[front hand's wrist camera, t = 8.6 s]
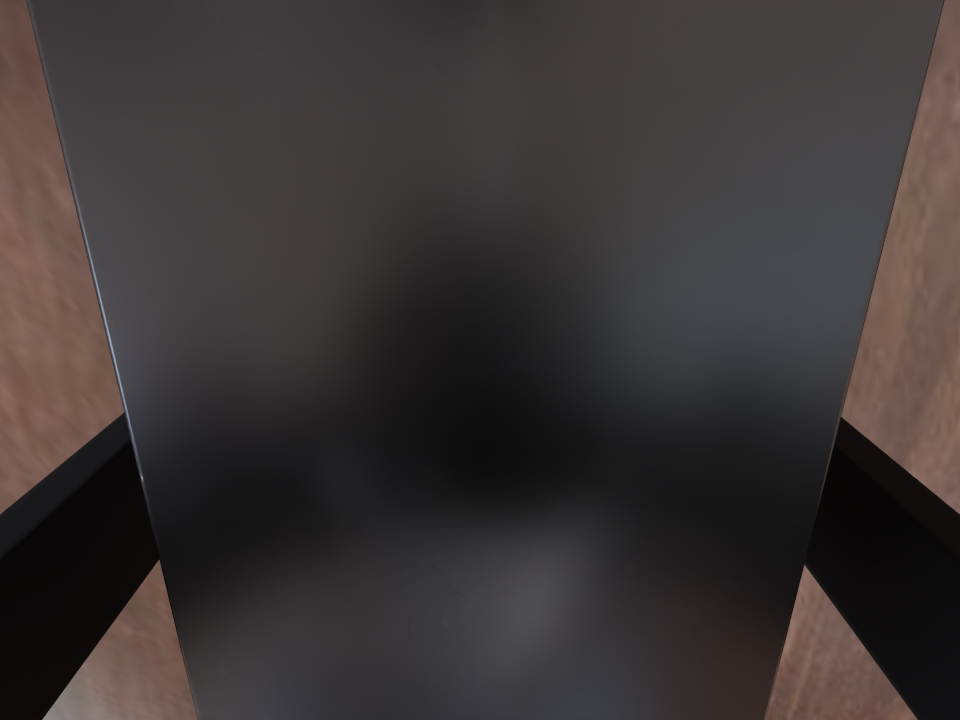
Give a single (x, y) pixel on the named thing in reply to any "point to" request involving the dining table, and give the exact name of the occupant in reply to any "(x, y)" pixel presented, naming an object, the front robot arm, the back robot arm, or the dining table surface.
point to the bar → (483, 331)
